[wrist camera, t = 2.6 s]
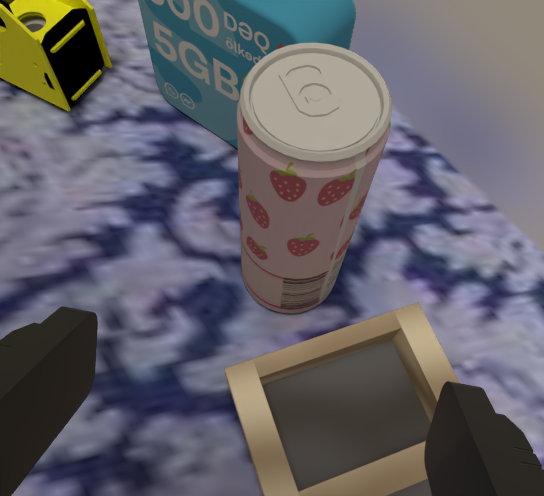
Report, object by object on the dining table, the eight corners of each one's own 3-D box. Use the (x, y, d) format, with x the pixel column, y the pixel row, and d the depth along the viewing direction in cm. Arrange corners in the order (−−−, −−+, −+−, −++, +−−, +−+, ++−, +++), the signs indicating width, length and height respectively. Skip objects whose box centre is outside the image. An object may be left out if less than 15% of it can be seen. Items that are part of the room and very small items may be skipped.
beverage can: (284, 214, 33) (307, 14, 20) (354, 269, 31) (430, 93, 18) (222, 273, 31) (200, 95, 18) (293, 335, 29) (328, 192, 16)
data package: (158, 98, 37) (120, -69, 26) (200, 63, 39) (180, -107, 28) (291, 186, 34) (309, 39, 23) (330, 144, 36) (363, -11, 25)
